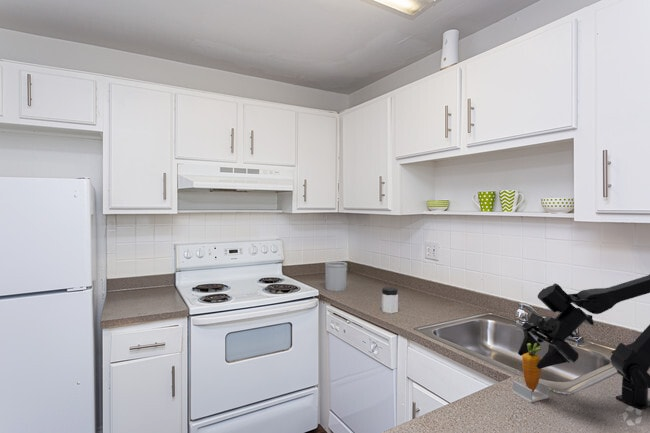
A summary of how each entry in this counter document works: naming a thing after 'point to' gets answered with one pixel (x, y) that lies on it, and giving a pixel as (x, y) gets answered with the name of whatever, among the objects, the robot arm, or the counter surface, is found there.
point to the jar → (389, 300)
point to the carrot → (531, 367)
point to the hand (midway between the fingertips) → (528, 360)
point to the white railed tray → (527, 393)
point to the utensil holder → (336, 276)
